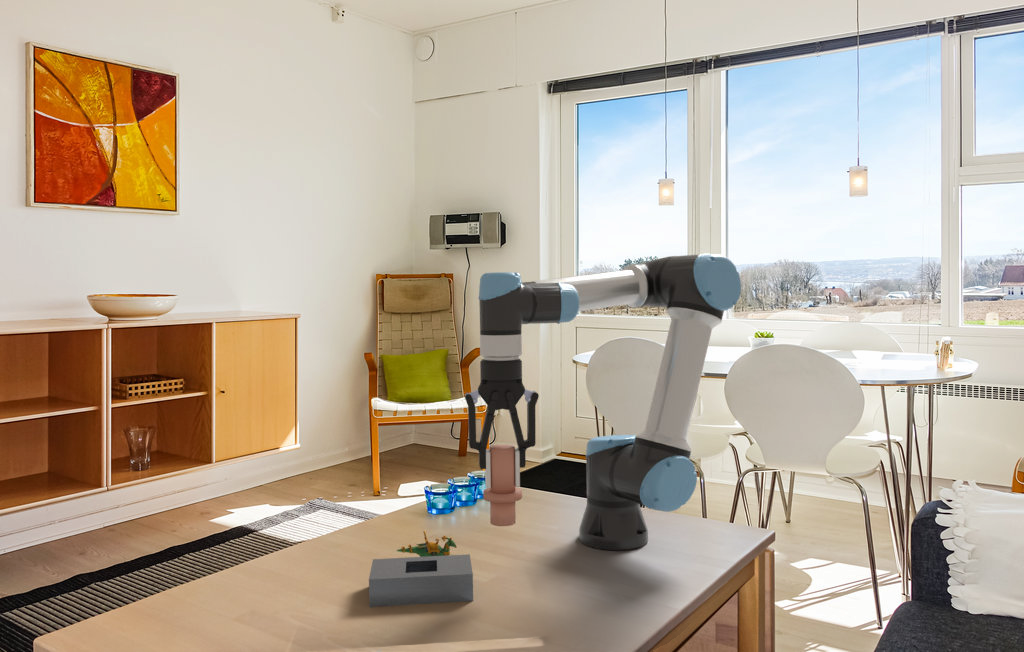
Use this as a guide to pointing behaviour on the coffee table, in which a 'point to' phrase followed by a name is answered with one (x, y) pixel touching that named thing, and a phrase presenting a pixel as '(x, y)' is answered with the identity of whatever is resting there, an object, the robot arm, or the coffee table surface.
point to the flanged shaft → (502, 486)
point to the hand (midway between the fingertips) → (502, 485)
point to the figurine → (430, 548)
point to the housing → (420, 580)
